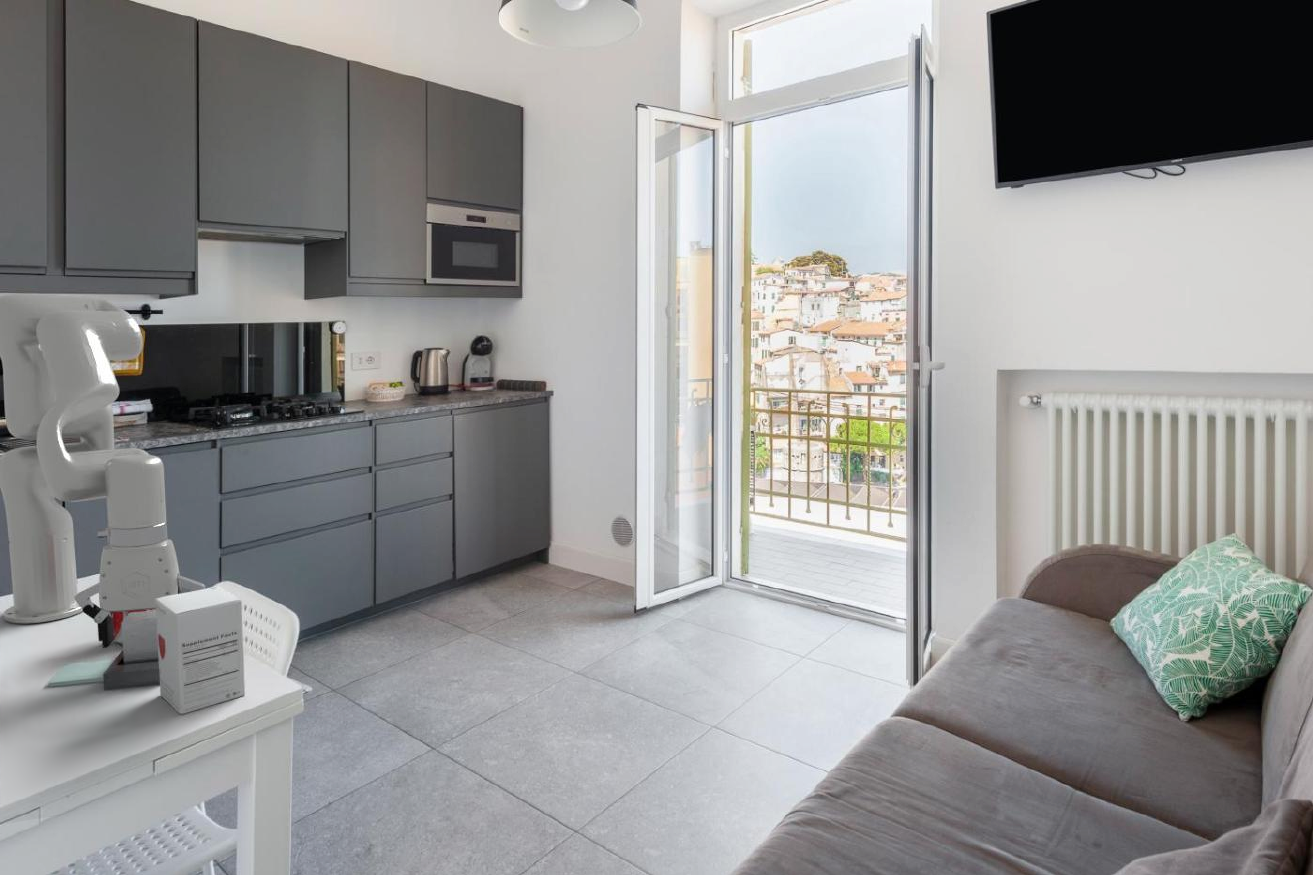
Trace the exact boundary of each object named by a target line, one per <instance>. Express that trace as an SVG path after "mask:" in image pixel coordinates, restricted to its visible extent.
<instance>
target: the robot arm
mask: <svg viewBox="0 0 1313 875" xmlns="http://www.w3.org/2000/svg"><path fill="white" fill-rule="evenodd" d="M143 341H144V340H143V334H142V331H141V328H140V326H139V323H137V320H136V319H135V317H133V316H132V315H131V314H130V313H129V312H127V311H125V310H124V309H123V308H121V307H119V306H118V305H116V304H113V303H112V302H110V301H108V300H107V299H103V298H98V297H97V298H96V297H85V296H83V297H82V296H68V295H66V296H64V295H63V296H62V295H50V294H34V293H33V294H29V293H26V294H25V293H22V294H21V293H20V294H14V293H13V294H7V295H6V294H5V295H1V296H0V360H1V365H2V371H3V372H2V373H3V374H2V376H3V377H2V379H3V400H4V401H3V403H4V416H5V422H6V423H5V424H6V427H7V430H8V432H9V433H10V435H11V436H13V437H15V438H16V439H21V440H30V441H32V440H36V445H28V446H21V447H18V448H17V447H16V448H13V449H10V450H8V451H6V452H5V453H3V454H2V455H1V456H0V491H1V494H2V499H3V504H4V507H5V514H6V524H7V535H8V547H9V548H8V549H9V561H10V571H11V572H10V573H11V583H12V595H13V596H12V598H13V606H9V607H8V608H7V609H5V610H4V611H3V619H4V620H5V621H6V622H8V623H12V624H38V623H46V622H52V621H57V620H61V619H65V618H69V617H73V616H75V615H78V614H80V613H81V612H83V613H84V614H85V615H87V616H88V617H90V618H91V619H92V620H93V622H94V623H95V624H97V636H98V637H97V638H98V639H97V640H98V641H99V642H101V643H102V649H106V648H107V649H108V648H109V647H110V646H111V645H112V643H113V642H115V641H114V627H113V618H112V616H110V613H111V612H123V611H136V610H149V609H156V605H155V599H157V598H161V597H165V596H170V595H175V594H181V592H182V588H183V589H187V590H189V591H190V592H192V591H197V590H202V589H206V585H205V584H204V583H202V582H200V581H197V580H194V579H191V578H188V577H185V576H183V575H181V573H180V569H179V563H178V558H177V552H176V549H175V546H174V543H173V540H172V539H170V538H169V539H168V527H167V526H168V525H167V524H168V523H167V522H168V521H167V507H166V506H167V504H166V486H165V468H164V463H163V460H162V459H161V458H160V457H159V456H157V455H152V454H150V453H148V451H145V450H144V449H141V448H135V447H130V448H117V449H115V427H114V423H115V422H114V410H113V405H112V403H114V402H115V401H116V400H117V399H118V397H119V395H120V386H119V384H118V380H117V379H116V375H115V373H114V370H113V367H112V364H111V361H132V360H135V359H137V358H138V357H139V355H140V354H141V353H142V350H143V346H144V345H143V344H144V342H143ZM65 438H66V439H67V438H80V442H72V443H64V440H63V439H65ZM105 498H106V512H107V513H106V514H107V527H106V528H104V529H98V530H97V539H104V540H106V541H107V545H105V546H103V547H102V552H101V555H100V556H101V557H100V565H99V566H100V567H99V578H98V579H99V581H98V583H96V584H94V585H92V586H90V587H88V588H85V589H84V590H81V591H78V583H79V582H78V578H77V565H76V564H77V563H76V550H75V536H74V534H75V533H74V522H73V517H72V515H71V514H70V512H69V511H68V510H67V509H66V508H65V507H63V506H62V505H61V504H60V503H58V502H57V501H56V500H55V499H57V500H59V501H61V502H66V503H67V502H68V503H75V502H83V501H91V500H92V501H93V500H99V499H105ZM97 594H98V599H99V600H98V602H99V606H98V605H97V604H95V603H94V602H92V600H91V597H93V596H95V595H97Z"/></svg>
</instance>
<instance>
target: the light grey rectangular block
mask: <svg viewBox="0 0 1313 875" xmlns="http://www.w3.org/2000/svg"><path fill="white" fill-rule="evenodd" d="M122 639H123V644H122V650H123V655H124V665H127V664H138V663H148V662H158V661H159V656H158V640H157V623H156V610H155V611H143V612H130V613H129V615H128V616H127V617H126V618H125V619H124V620H123V621H122Z"/></svg>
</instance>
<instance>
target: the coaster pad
mask: <svg viewBox="0 0 1313 875" xmlns="http://www.w3.org/2000/svg"><path fill="white" fill-rule="evenodd" d="M114 660H115V659H110V660H108V659H107V660H100V661H99V660H98V661H90V662H88V661H86V662H77V663H68V664H64V665H63V667H62V668H61V669H60V670H59V671H58V672H57V673H56V674H55V675H54V677H52V678H51V680H50V681H49V682H48V687H49V688H50V687H58V686H59V687H61V686H69V685H79V684H88V683H101V682H104V679H103V674H104V672H105V671H106V670H107V669H108V667H109V666H110V665H111V664H112V662H113V661H114Z"/></svg>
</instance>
